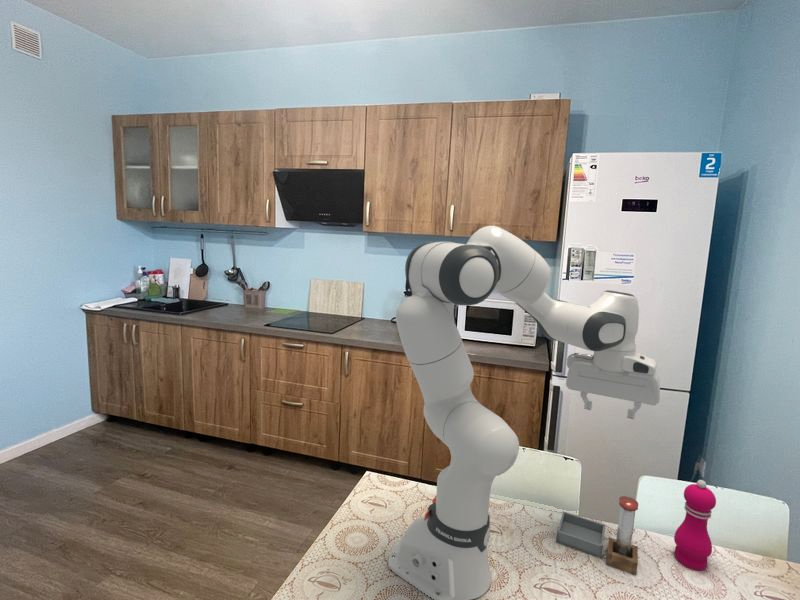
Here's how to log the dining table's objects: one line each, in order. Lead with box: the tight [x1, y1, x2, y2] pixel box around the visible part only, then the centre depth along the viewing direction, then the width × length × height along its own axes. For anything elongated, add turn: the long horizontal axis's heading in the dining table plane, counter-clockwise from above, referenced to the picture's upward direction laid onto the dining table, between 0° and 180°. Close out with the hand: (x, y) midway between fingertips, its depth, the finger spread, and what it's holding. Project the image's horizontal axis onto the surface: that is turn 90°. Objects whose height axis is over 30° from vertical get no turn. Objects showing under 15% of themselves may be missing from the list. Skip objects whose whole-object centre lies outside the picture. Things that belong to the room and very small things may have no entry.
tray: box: [556, 510, 606, 560], centre depth 104 cm, size 10×9×3 cm
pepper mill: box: [673, 479, 717, 571], centre depth 97 cm, size 7×7×20 cm
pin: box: [615, 495, 639, 558], centre depth 96 cm, size 4×4×15 cm
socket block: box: [605, 536, 639, 576], centre depth 97 cm, size 6×6×3 cm
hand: (608, 413), depth 103 cm, fingers open, 8 cm apart
